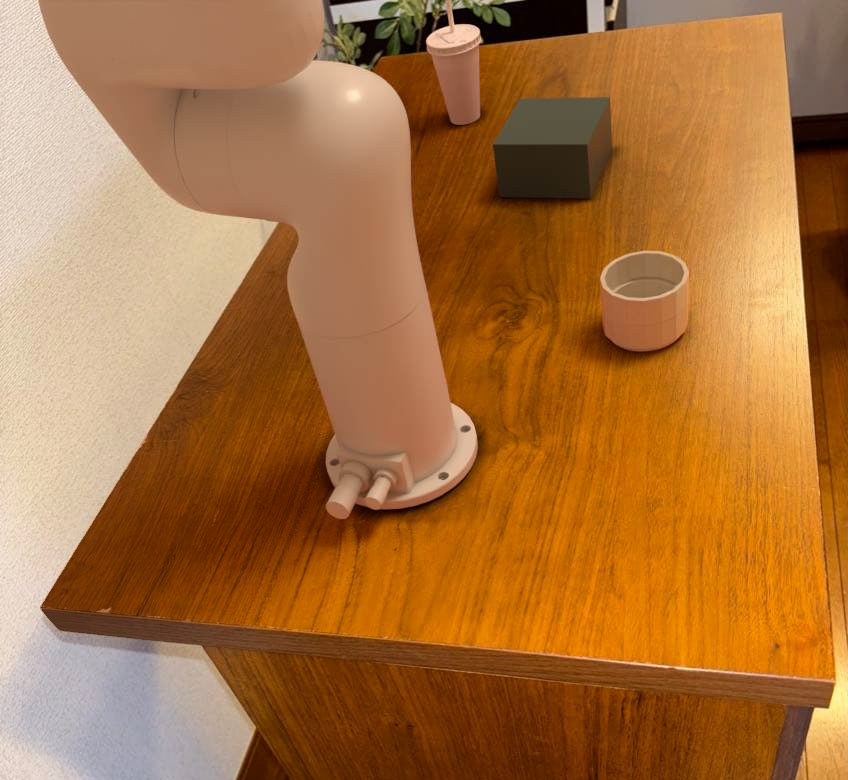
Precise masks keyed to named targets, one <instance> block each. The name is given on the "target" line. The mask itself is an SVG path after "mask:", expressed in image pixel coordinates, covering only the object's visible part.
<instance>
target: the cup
mask: <svg viewBox="0 0 848 780" xmlns="http://www.w3.org/2000/svg"><path fill="white" fill-rule="evenodd" d="M599 288H600V302H601V303H600V304H601V305H600V306H601V322H602V329H603V332H604V335H605V337H606V338H608V339H609V340H610V341H611V342H612V343H613V344H614V345H615V346H617V347H619V348H620V349H621V348H622V349H623V350H627V351H631V352H652V351H657V350H661V349H664V348H667V347H668V346H670V345H672V344H673V343H674V342H676V341H677V340H678V339H679V338H680V337H681V336H682V335H684V333H685V332H686V331H687V326H688V323H689V298H690V297H689V296H690V294H689V293H690V271H689V268H688V266H687V263H686V262H685V261H684V260H683V259H681V258H679V257H678V256H677V255H675V254H672V253H668V252H665V251H661V250H639V251H636V252H629V253H626V254H624V255H621V256H619V257H616V258H615V259H613V260H612V261H610V262H609V263H608V264H607V265H606V266H605V267H603V269H602V272H601V274H600V277H599Z"/></svg>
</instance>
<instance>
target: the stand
mask: <svg viewBox="0 0 848 780" xmlns="http://www.w3.org/2000/svg"><path fill="white" fill-rule="evenodd" d="M612 132H613V131H612V109H611V97H610V96H599V97H598V96H596V97H550V98H549V97H548V98H541V97H540V98H520V99H518V101H517V103H516V104H515V106H514V108H513V110H512V111H511V113H510V115H509V117H508V118H507V119H506V122H504V125H503V126H502V128H501V130H500V132H499V133H498V135H497V136H496V138H495V139H494V141H493V143H492V149H493V157H494V164H495V172H496V179H497V186H498V192H499V194H498V195H499V198H523V199H526V198H527V199H529V198H530V199H576V200H577V199H581V200H583V199H584V200H585V199H586V200H587V199H588V200H589V199H592V197H593V194H594V192H595V190H596V188H597V186H598V184H599V181H600V179H601V176H602V174H603V172H604V169H605V168H606V166H607V163H608V161H609V159H610V157H611V155H612V152H613V133H612Z"/></svg>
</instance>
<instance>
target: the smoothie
mask: <svg viewBox="0 0 848 780" xmlns="http://www.w3.org/2000/svg"><path fill="white" fill-rule="evenodd" d="M451 1H452V0H445V5H446V13H447V18H448V25H447V26H444V27H442V28H439V29H436V30H435V31H433V32H432V33H430V34H429V35H428V37H426V40H425V43H426V51H427V53H428V54H430V55H431V59H432V63H433V66H434V69H435V73H436V77H437V80H438V83H439V86H440V90H441V93H442V96H443V97H442V98H443V100H444V103H445V107H446V111H447V114H448V117H449V121H450V123H452V124H454V125H459V126H461V125H462V126H463V125H469V124H471V123H475V122H476V121H478V120H479V119H480V117H481V97H480V96H481V87H480V86H481V85H480V44H481V42H482V36H481V30H480V28H479V27H477V26H476V25H473V24H469V23H468V24H466V23H461V24H460V23H459V24H455V21H454V14H453V9H452V2H451Z"/></svg>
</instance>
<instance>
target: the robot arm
mask: <svg viewBox="0 0 848 780" xmlns="http://www.w3.org/2000/svg"><path fill="white" fill-rule="evenodd" d="M37 1H38V6H39V9H40V13H41V17H42V20H43V23H44V26H45V29H46V31H47V34H48V36H49V39H50V41H51V43H52V45H53V47H54V50H55V51H56V53H57V54H58V57H59V58H60V60H61V62H62V63H63V65H64V66H65V68H66V70H67V71H68V72H69V74H70V75H71V76H72V78H73V79H74V81H75V82H76V83H77V85H78V86H79V87H80V89H81V90H82V91H83V92H84V94H85V95H86V96H87V97H88V99H89V101H90V102H91V103H92V104H93V106H95V109H97V111H98V112H99V113H100V115H101V116H102V117H103V118H104V120H105V121H106V122H107V124H108V125H109V126H110V128H111V129H112V130H113V132H114V133H115V134H116V135H117V136H118V138H119V139H120V141H121V142H122V143H123V145H125V147H126V148H127V149H128V151H129V152H130V153H131V154H132V156H133V157H134V158H135V159H136V161H137V162H138V163H139V165H140V166H141V167H142V169H143V170H144V171H145V173H146V174H147V175H148V176H149V177H150V178H151V180H152V181H153V182H154V183H155V184H156V185H157V186H158V187H159V189H161V190H162V192H164V193H165V194H166V195H167V196H168V197H169V198H171V199H172V200H174V202H176V203H178V204H180V205H181V206H183V207H185V208H187V209H190V210H193V211H196V212H198V213H205V214H211V215H217V216H224V217H233V218H243V219H252V220H263V221H266V222H271V223H272V222H273V223H281V224H285V225H288V226H290V227H292V228H293V229H294V230H295V231H296V234H297V237H298V242H297V246H296V249H295V251H294V253H293V255H292V257H291V259H290V262H289V265H288V268H287V273H286V286H287V293H288V298H289V301H290V304H291V307H292V311H293V314H294V317H295V319H296V321H297V324H298V328H299V330H300V334H301V337H302V340H303V342H304V345H305V348H306V351H307V355H308V357H309V360H310V363H311V367H312V369H313V373H314V375H315V378H316V382H317V385H318V388H319V390H320V393H321V396H322V399H323V402H324V405H325V408H326V411H327V415H328V417H329V420H330V423H331V426H332V429H333V433H334V435H333V436H332V438H331V439H330V441H329V443H328V447H327V449H326V451H325V452H326V453H325V466H326V471H327V474H328V477H329V481H330V482H331V484H332V486H333V488H334V489H333V491H332V493H331V495H330V496H329V498H328V500H327V502H326V504H325V509H326V512H327V513H328V514H329V515H330V516H332V517H334V518H336V519H338V520H345V519H347V518H348V517H349V516H350V514H351V513H352V511H353V509H354V507H355V505H358V506H362V507H366V508H369V509H370V510H371V509H372V510H374V511H379V510H399V509H406V508H409V507H410V508H412V507H415V506H419V505H423V504H425V503H428V502H430V501H433V500H435V499H436V498H439V497H441V496H443V495H444V494H446V493H447V492H449V491H450V490H452V489H454V488H455V487H456V486H457V485H458V484H459V483H460V482H461V481H462V480H463V479H465V477H466V476H467V474H468V473H469V472H470V470H471V469H472V467H473V465H474V463H475V461H476V458H477V454H478V450H479V449H478V448H479V442H478V434H477V431H476V427H475V424H474V422H473V421H472V419H471V417H470V416H469V415H468V413H466V411H464V409H462V408H461V407H459V406H457V405H456V404H454V403H452V402H451V399H450V398H451V397H450V394H449V393H450V392H449V390H448V389H449V388H448V386H447V385H448V384H447V379H446V375H445V370H444V364H443V360H442V356H441V351H440V346H439V341H438V337H437V332H436V327H435V323H434V318H433V313H432V309H431V304H430V299H429V294H428V289H427V284H426V281H425V276H424V271H423V267H422V262H421V256H420V251H419V246H418V241H417V235H416V228H415V227H416V226H415V219H414V212H413V210H414V209H413V198H412V148H411V147H412V146H411V131H410V124H409V118H408V114H407V110H406V108H405V105H404V103H403V101H402V99H401V97H400V95H399V94H398V93H397V91H396V90H395V88H394V87H392V85H391V84H390V83H388V81H387V80H386V79H384V78H383V77H382V76H380V75H378V74H376V73H375V72H374V71H371V70H368V69H366V68H363V67H362V66H361V67H360V66H358V65H354V64H350V63H345V62H341V61H331V60H315V57H316V56H317V54H318V52H319V50H320V48H321V45H322V43H323V38H324V31H325V9H324V3H323V0H37Z"/></svg>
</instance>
